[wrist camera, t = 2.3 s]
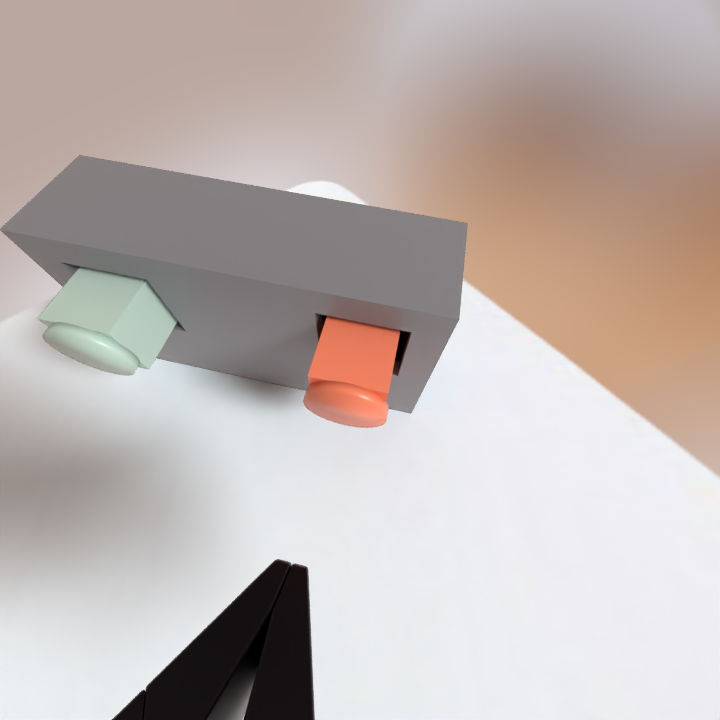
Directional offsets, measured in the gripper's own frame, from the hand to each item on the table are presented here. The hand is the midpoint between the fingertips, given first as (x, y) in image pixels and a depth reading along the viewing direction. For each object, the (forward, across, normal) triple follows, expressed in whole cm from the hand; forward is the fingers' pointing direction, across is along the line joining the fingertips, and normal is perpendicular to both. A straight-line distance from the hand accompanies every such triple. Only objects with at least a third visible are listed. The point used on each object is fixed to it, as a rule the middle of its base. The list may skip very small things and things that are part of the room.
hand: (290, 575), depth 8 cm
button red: (+11, 0, -1) cm, 11 cm away
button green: (+11, +13, -1) cm, 17 cm away
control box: (+18, +7, 0) cm, 19 cm away
